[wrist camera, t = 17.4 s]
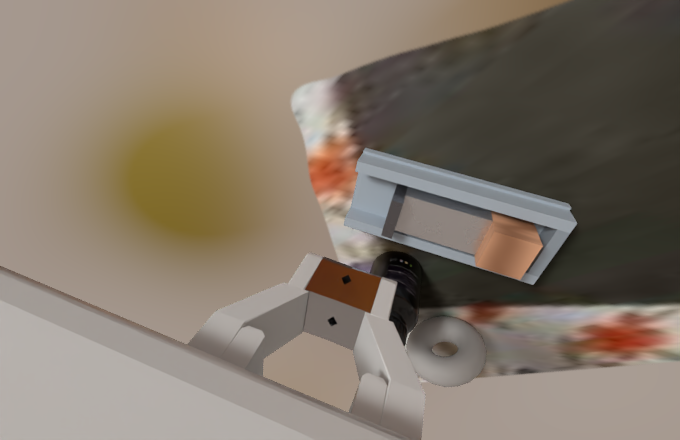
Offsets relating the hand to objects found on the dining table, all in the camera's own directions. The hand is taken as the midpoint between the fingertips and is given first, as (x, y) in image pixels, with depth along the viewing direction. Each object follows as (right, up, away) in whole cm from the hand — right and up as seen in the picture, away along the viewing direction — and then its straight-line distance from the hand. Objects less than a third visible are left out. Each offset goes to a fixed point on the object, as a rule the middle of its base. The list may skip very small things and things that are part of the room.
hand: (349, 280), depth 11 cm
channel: (+12, +3, +27) cm, 30 cm away
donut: (+15, -12, +36) cm, 41 cm away
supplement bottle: (+8, -5, +34) cm, 35 cm away
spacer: (+18, +1, +26) cm, 31 cm away
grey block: (+11, +3, +26) cm, 29 cm away
